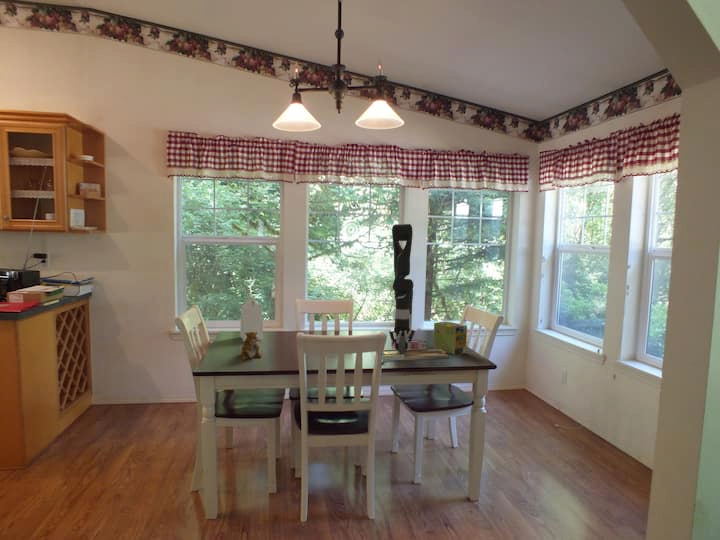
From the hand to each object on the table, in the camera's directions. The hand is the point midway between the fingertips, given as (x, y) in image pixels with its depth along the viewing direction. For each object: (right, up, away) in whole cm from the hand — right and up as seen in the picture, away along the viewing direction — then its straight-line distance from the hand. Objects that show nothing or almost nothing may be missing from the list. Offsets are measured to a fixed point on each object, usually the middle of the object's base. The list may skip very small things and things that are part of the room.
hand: (401, 349), depth 232 cm
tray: (-6, -5, -1) cm, 8 cm away
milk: (-87, 0, +36) cm, 94 cm away
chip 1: (-7, -4, -1) cm, 9 cm away
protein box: (+28, -4, +16) cm, 33 cm away
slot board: (+11, -5, +3) cm, 13 cm away
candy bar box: (+13, 0, +17) cm, 21 cm away
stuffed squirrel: (-79, -4, -1) cm, 79 cm away
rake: (0, -4, 0) cm, 4 cm away
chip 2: (-3, -4, 0) cm, 6 cm away
